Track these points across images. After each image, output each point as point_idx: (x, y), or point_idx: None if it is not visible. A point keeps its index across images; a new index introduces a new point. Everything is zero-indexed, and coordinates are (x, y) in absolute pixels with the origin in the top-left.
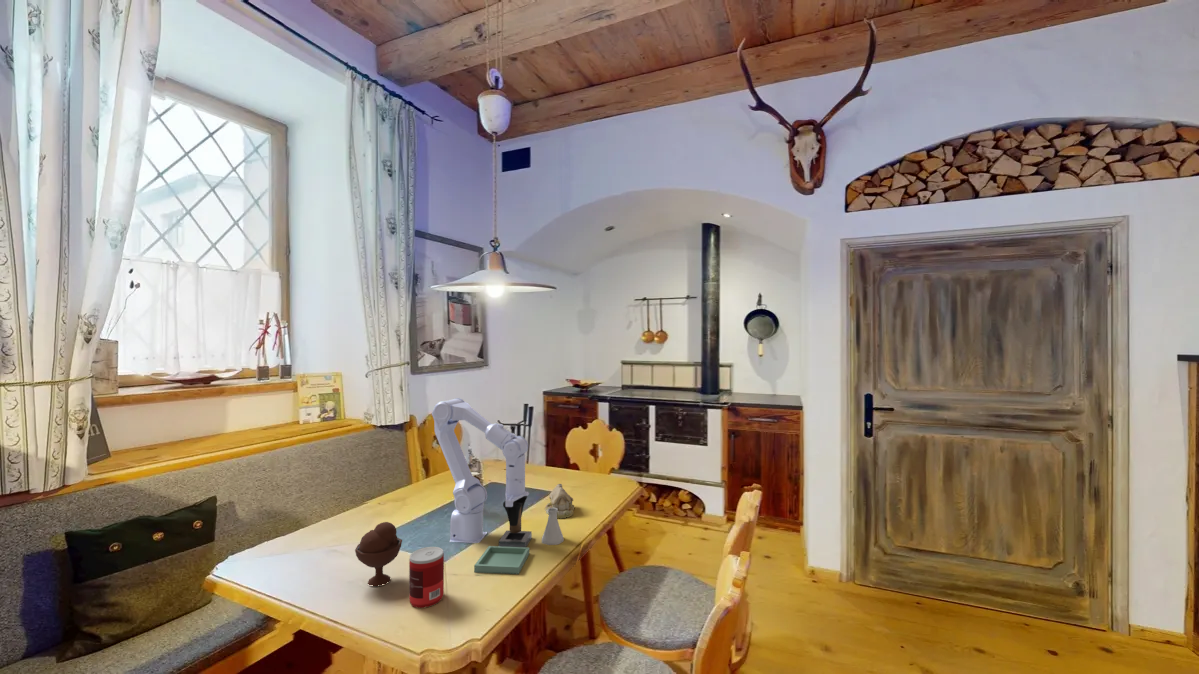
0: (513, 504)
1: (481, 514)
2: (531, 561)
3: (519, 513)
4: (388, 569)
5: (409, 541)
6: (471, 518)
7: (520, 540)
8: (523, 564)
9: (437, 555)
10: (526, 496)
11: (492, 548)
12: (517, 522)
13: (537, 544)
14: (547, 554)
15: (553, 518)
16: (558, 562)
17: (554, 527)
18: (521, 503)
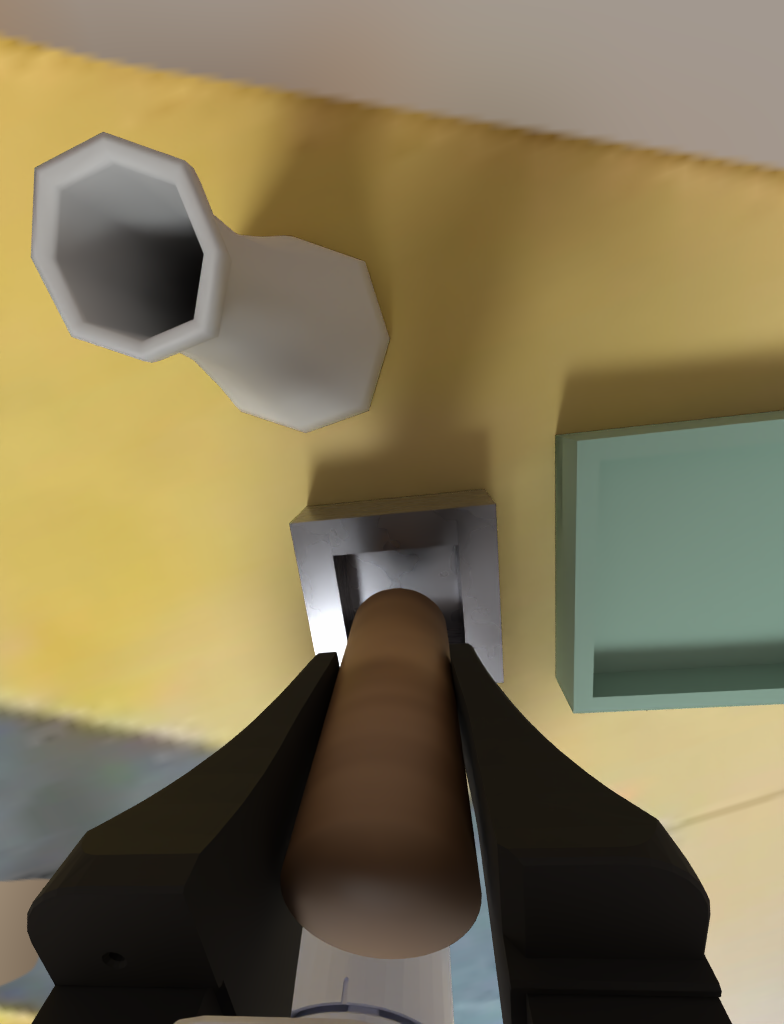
0: (712, 1003)
1: (364, 964)
2: (643, 389)
3: (423, 713)
4: (739, 981)
5: (463, 1005)
6: (443, 990)
7: (469, 548)
8: (748, 416)
9: None
10: (119, 896)
11: (589, 682)
12: (475, 656)
13: (371, 440)
14: (520, 307)
15: (249, 259)
16: (654, 159)
17: (304, 271)
18: (575, 873)
